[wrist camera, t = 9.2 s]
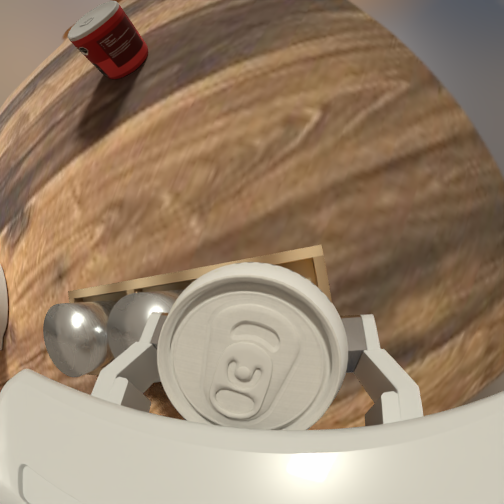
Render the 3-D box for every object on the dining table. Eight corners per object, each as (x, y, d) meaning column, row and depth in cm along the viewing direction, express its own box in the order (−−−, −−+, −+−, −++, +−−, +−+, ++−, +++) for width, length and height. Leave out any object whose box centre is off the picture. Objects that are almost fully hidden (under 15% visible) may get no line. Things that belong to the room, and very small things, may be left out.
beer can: (323, 284, 21) (384, 294, 7) (301, 355, 21) (309, 473, 6) (251, 263, 22) (173, 233, 8) (230, 334, 22) (132, 411, 7)
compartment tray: (102, 366, 26) (83, 374, 22) (88, 291, 27) (68, 291, 23) (333, 346, 23) (339, 357, 19) (317, 249, 24) (321, 244, 20)
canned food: (111, 56, 31) (77, 17, 20) (153, 39, 30) (123, -7, 19) (100, 87, 30) (58, 48, 20) (145, 70, 29) (107, 20, 18)
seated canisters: (98, 358, 24) (52, 374, 17) (87, 303, 25) (38, 306, 18) (222, 354, 22) (194, 382, 15) (209, 284, 23) (175, 286, 16)
